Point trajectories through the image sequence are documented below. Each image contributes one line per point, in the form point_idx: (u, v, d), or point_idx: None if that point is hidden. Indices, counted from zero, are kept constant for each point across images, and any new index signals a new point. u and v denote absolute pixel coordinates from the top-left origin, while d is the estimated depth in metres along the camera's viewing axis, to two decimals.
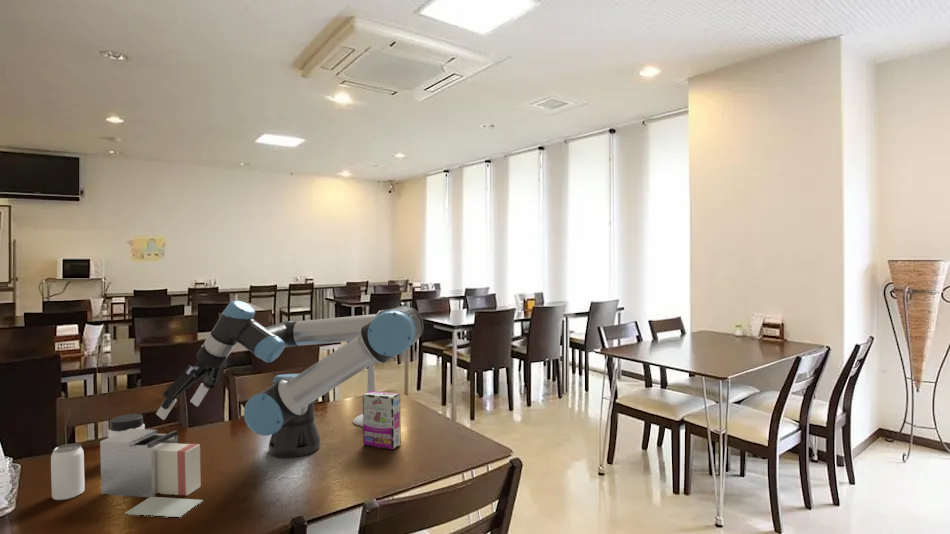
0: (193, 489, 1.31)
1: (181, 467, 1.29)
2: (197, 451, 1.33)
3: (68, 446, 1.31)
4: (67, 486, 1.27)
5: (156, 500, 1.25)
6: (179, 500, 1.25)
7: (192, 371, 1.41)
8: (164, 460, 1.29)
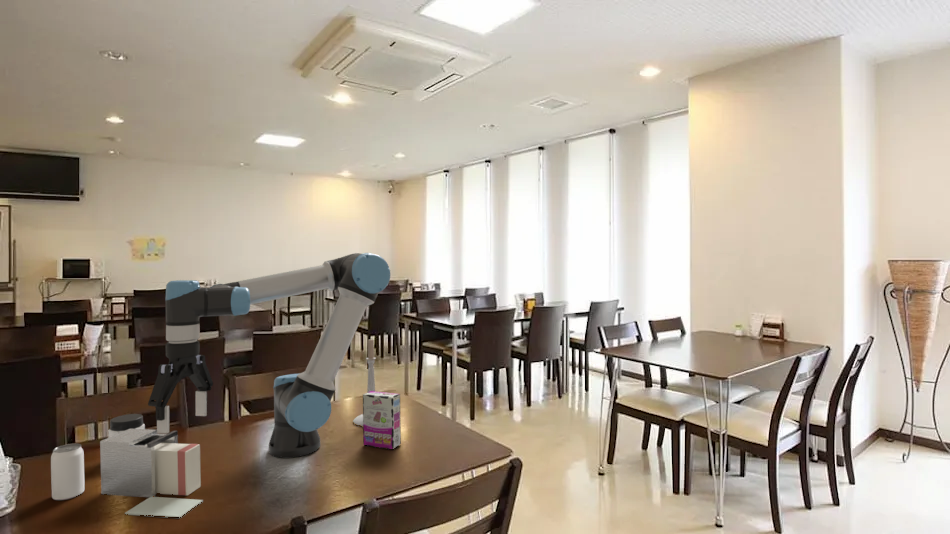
0: (193, 489, 1.31)
1: (181, 467, 1.29)
2: (197, 451, 1.33)
3: (68, 446, 1.31)
4: (67, 486, 1.27)
5: (156, 500, 1.25)
6: (179, 500, 1.25)
7: (166, 367, 1.24)
8: (164, 460, 1.29)
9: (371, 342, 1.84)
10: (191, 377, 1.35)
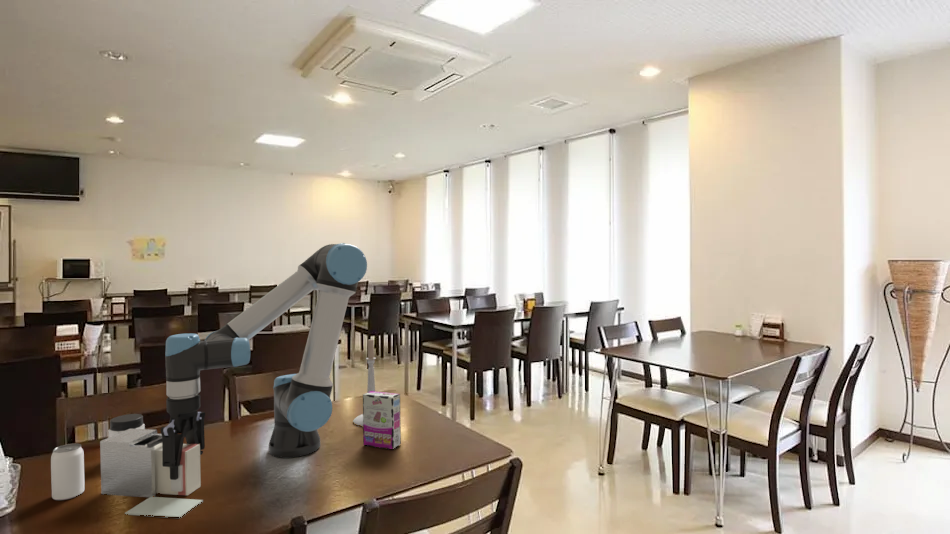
0: (193, 489, 1.31)
1: None
2: (197, 451, 1.33)
3: (68, 446, 1.31)
4: (67, 486, 1.27)
5: (156, 500, 1.25)
6: (179, 500, 1.25)
7: (168, 431, 1.25)
8: None
9: (371, 342, 1.84)
10: (187, 435, 1.33)
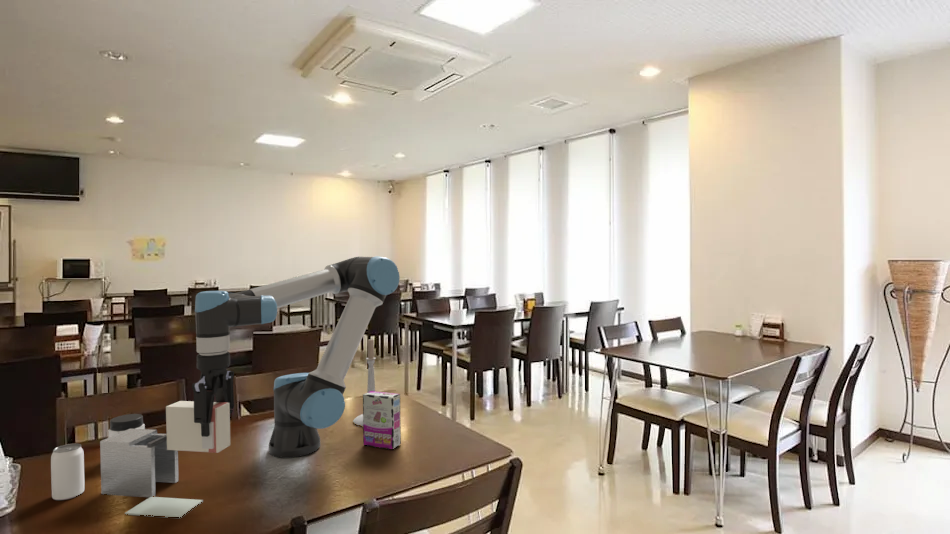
0: (223, 447, 1.30)
1: None
2: (227, 409, 1.31)
3: (68, 446, 1.31)
4: (67, 486, 1.27)
5: (156, 500, 1.25)
6: (179, 500, 1.25)
7: (199, 386, 1.23)
8: None
9: (371, 342, 1.84)
10: (217, 393, 1.32)
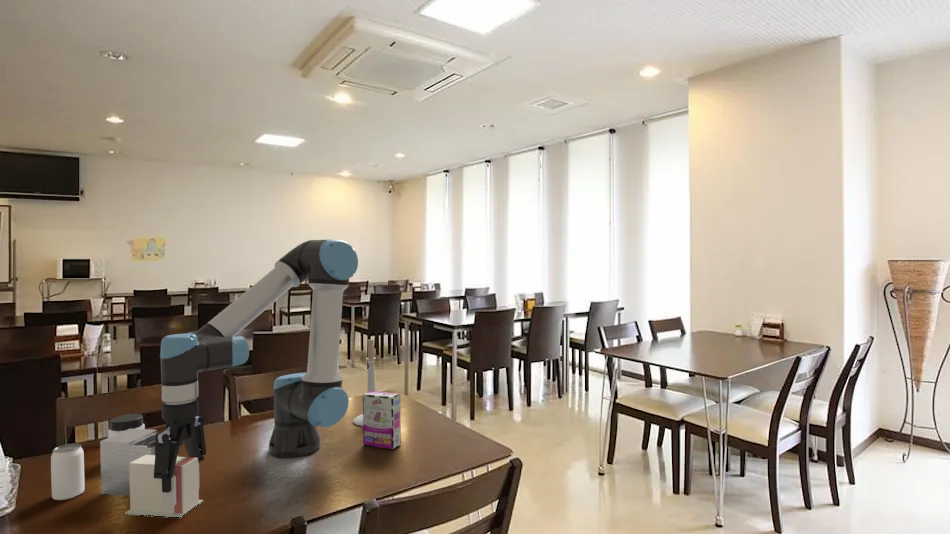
0: (190, 506, 1.21)
1: (177, 483, 1.19)
2: (195, 465, 1.23)
3: (68, 446, 1.31)
4: (67, 486, 1.27)
5: None
6: None
7: (163, 437, 1.15)
8: None
9: (371, 342, 1.84)
10: (186, 442, 1.24)
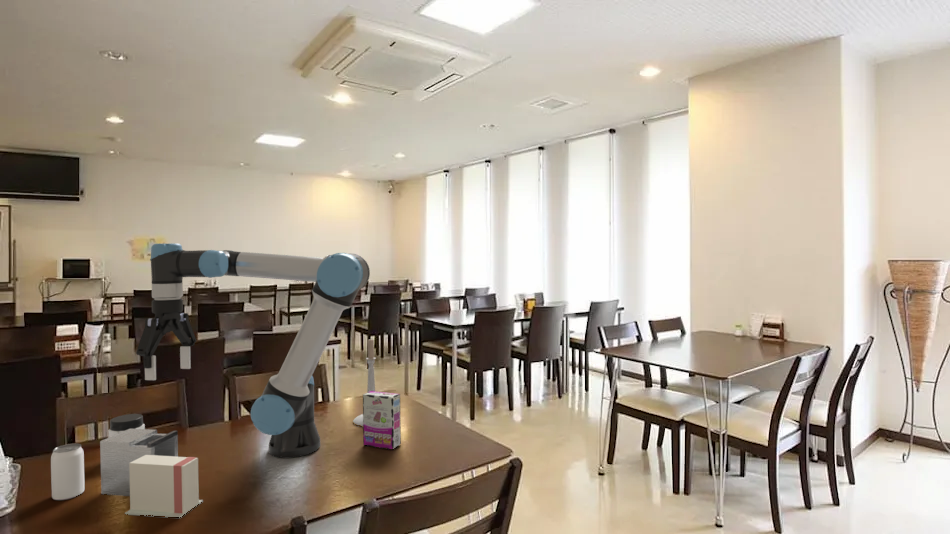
0: (190, 506, 1.21)
1: (177, 483, 1.19)
2: (195, 465, 1.23)
3: (68, 446, 1.31)
4: (67, 486, 1.27)
5: None
6: None
7: (152, 320, 1.37)
8: (159, 475, 1.20)
9: (371, 342, 1.84)
10: (176, 332, 1.48)
